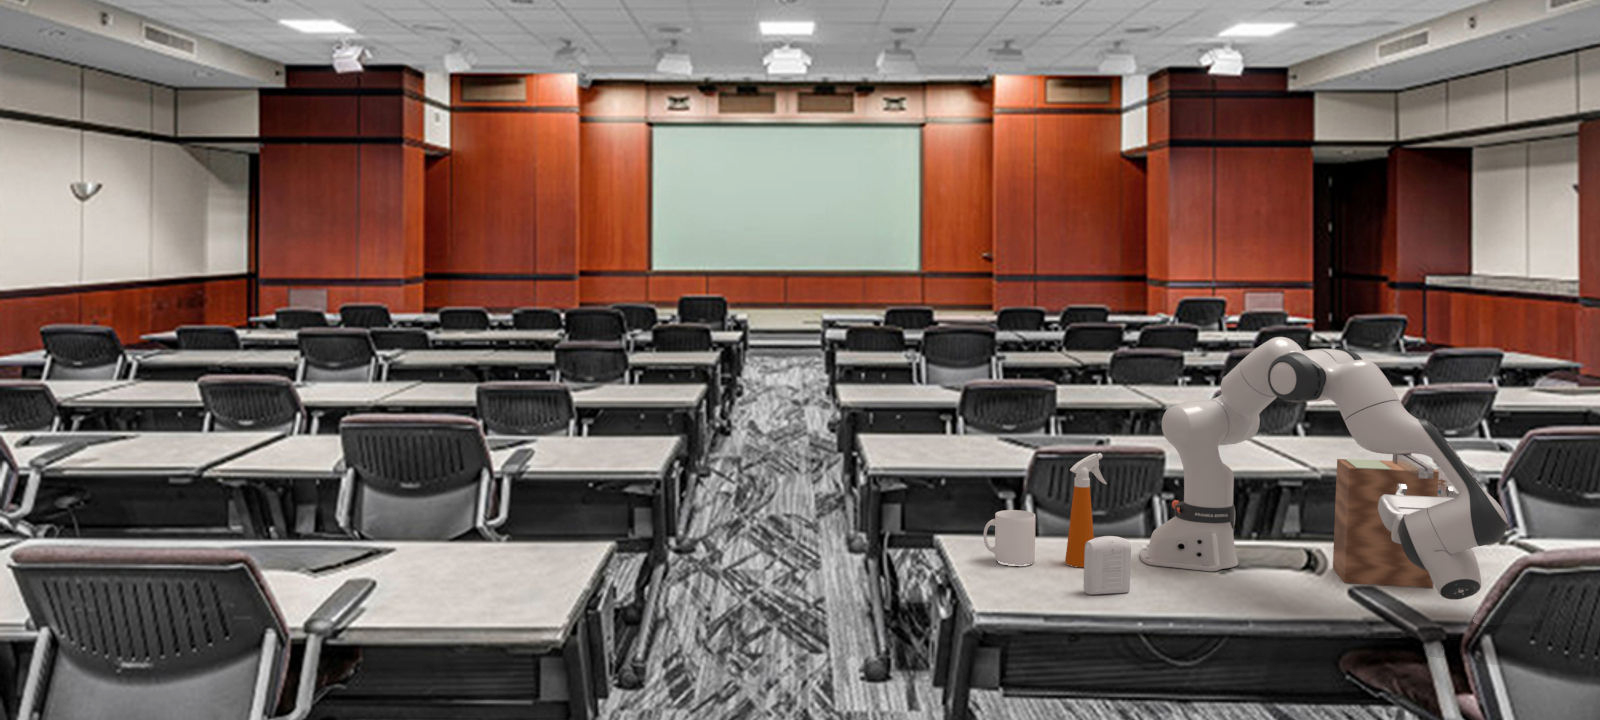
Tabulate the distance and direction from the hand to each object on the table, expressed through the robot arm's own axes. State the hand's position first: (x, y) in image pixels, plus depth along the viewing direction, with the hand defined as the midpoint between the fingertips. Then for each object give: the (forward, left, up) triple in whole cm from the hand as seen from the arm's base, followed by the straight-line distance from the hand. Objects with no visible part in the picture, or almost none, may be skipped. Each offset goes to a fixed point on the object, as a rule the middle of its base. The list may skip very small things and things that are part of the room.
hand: (1425, 487), depth 241 cm
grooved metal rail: (0, +10, +2) cm, 10 cm away
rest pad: (-8, +15, +2) cm, 17 cm away
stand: (-4, +15, -24) cm, 29 cm away
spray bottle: (-69, +13, -24) cm, 74 cm away
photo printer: (-65, -10, -24) cm, 70 cm away
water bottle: (+13, +31, -24) cm, 42 cm away
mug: (-87, +10, -24) cm, 91 cm away
